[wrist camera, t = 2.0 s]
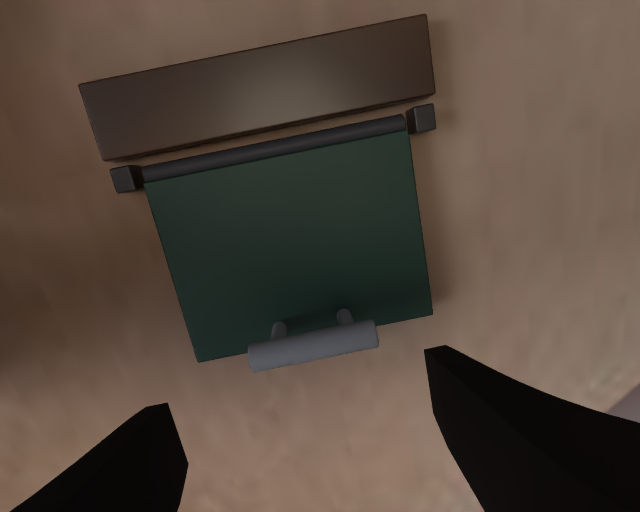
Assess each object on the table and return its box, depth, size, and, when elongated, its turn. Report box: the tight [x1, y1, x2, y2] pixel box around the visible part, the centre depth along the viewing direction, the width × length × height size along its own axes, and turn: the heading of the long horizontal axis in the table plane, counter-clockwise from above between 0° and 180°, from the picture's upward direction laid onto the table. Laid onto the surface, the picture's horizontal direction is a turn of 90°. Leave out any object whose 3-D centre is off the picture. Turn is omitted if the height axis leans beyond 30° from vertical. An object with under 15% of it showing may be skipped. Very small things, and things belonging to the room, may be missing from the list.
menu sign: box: [142, 114, 433, 372], centre depth 17 cm, size 10×12×4 cm
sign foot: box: [78, 14, 436, 194], centre depth 17 cm, size 5×15×1 cm, turn 101°
